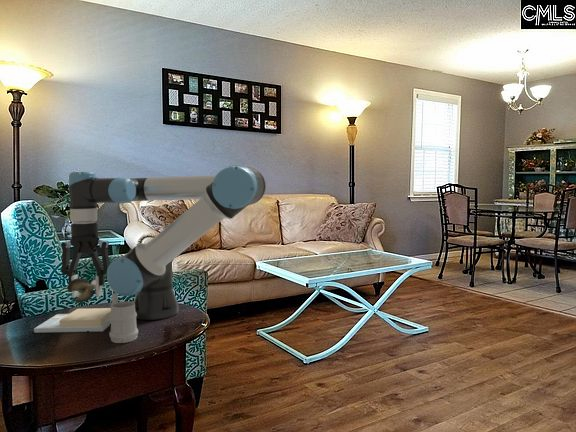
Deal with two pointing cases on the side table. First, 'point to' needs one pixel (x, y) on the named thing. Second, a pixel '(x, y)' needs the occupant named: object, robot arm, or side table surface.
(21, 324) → the side table surface
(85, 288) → the eagle figurine
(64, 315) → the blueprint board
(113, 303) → the mug
